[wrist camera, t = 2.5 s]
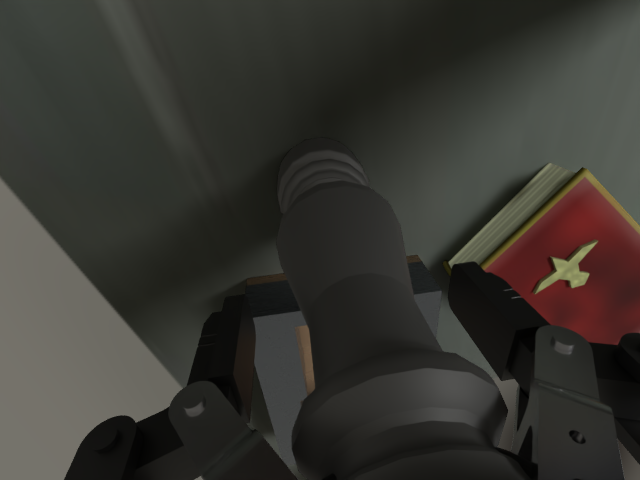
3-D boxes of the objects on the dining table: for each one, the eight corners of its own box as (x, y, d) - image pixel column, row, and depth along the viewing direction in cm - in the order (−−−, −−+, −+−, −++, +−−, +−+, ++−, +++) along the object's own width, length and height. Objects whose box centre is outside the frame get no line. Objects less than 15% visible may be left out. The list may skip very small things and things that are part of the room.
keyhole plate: (417, 255, 28) (442, 290, 24) (407, 400, 39) (422, 442, 35) (247, 278, 28) (241, 319, 23) (283, 419, 38) (284, 465, 34)
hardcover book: (560, 341, 37) (591, 372, 34) (438, 262, 30) (461, 290, 26) (658, 268, 33) (705, 294, 29) (546, 154, 25) (590, 170, 22)
